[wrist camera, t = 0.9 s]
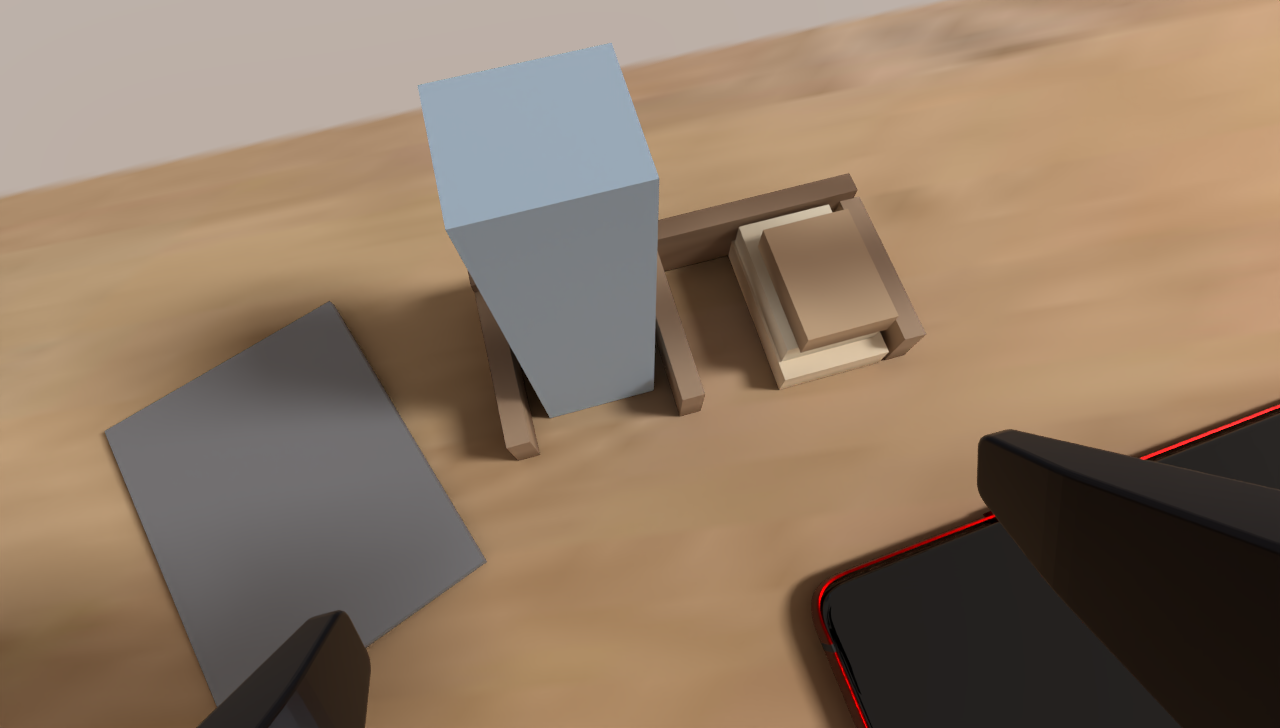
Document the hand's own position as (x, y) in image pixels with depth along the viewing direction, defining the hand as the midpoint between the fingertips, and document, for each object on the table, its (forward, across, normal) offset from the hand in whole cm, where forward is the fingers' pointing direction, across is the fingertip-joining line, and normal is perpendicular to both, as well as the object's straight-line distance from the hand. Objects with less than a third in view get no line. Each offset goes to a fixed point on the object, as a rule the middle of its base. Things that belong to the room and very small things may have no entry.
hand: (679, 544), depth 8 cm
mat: (+14, +12, +5) cm, 19 cm away
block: (+15, +1, +3) cm, 15 cm away
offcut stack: (+15, -8, +3) cm, 17 cm away
